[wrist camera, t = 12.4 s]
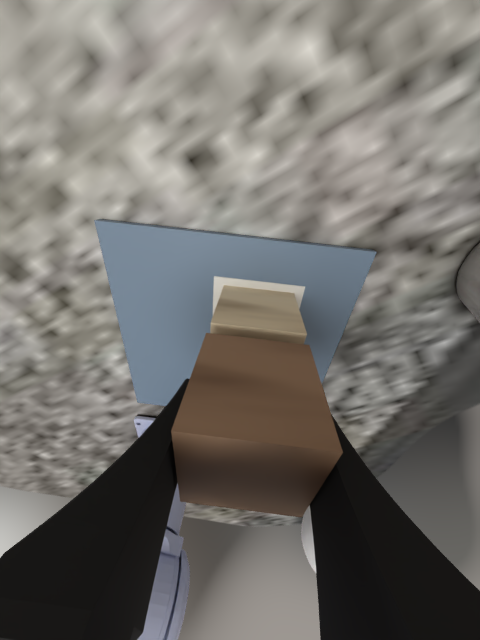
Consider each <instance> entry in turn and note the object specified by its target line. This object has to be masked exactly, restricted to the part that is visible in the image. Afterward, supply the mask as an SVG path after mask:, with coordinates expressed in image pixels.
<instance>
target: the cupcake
mask: <svg viewBox="0 0 480 640" xmlns="http://www.w3.org/2000/svg"><path fill="white" fill-rule="evenodd" d="M456 287H457V294H458V296H459V298H460V300H461V301H462V302H463V304H464V305H465V306H466V307H467V308H468V309H469V310H470V312H471V313H472V314H473V315H474V316H475V318H476V319H477V320H478V322H479V323H480V243H479V244H478V245H477V246H475V247H474V249H473V250H472V251H471V252H470V254H469V255H468V256H467V258H466V259H465V261H464V262H463V264H462V266H461V268H460V270H459V271H458V276H457V281H456Z"/></svg>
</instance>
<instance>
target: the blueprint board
mask: <svg viewBox="0 0 480 640" xmlns="http://www.w3.org/2000/svg"><path fill="white" fill-rule="evenodd" d="M94 221H95V225H96V229H97V233H98V238H99V242H100V246H101V250H102V254H103V259H104V263H105V267H106V271H107V276H108V280H109V284H110V288H111V292H112V297H113V301H114V305H115V309H116V314H117V318H118V322H119V326H120V330H121V335H122V339H123V343H124V347H125V352H126V356H127V360H128V364H129V368H130V373H131V377H132V381H133V385H134V390H135V394H136V398H137V402H138V403H146V404H154V405H162V406H166V405H167V404H168V403H169V402H170V400H171V399H172V398H173V396H174V395H175V394H176V392H177V391H178V389H179V388H180V386H181V385H182V383H183V382H184V380H185V379H187V378H188V379H190V377H191V374H192V371H193V368H194V366H195V363H196V360H197V357H198V354H199V352H200V349H201V346H202V343H203V340H204V338H205V335H206V333H210V328H211V320H212V317H213V314H214V312H215V309H216V306H217V303H218V300H219V297H220V295H221V292H222V289H223V286H224V285H227V286H236V287H245V288H254V289H263V290H271V291H280V292H289V293H294V295H295V298H296V301H297V304H298V307H299V310H300V313H301V317H302V320H303V323H304V326H305V329H306V332H307V336H306V339H305V342H304V344H305V345H310V348H311V352H312V355H313V358H314V361H315V365H316V368H317V371H318V374H319V377H320V381H321V384H322V382H323V380H324V377H325V375H326V373H327V370H328V368H329V365H330V363H331V360H332V358H333V356H334V353H335V351H336V348H337V346H338V344H339V341H340V339H341V336H342V334H343V332H344V329H345V327H346V324H347V322H348V320H349V317H350V315H351V312H352V310H353V308H354V305H355V303H356V300H357V298H358V296H359V293H360V291H361V288H362V286H363V284H364V281H365V279H366V276H367V274H368V272H369V269H370V267H371V264H372V262H373V260H374V257H375V255H376V251H374V250H371V249H362V248H353V247H344V246H335V245H326V244H317V243H309V242H300V241H291V240H282V239H273V238H264V237H255V236H246V235H237V234H229V233H220V232H211V231H202V230H193V229H184V228H175V227H166V226H158V225H149V224H140V223H131V222H122V221H113V220H104V219H98V220H94Z"/></svg>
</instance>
